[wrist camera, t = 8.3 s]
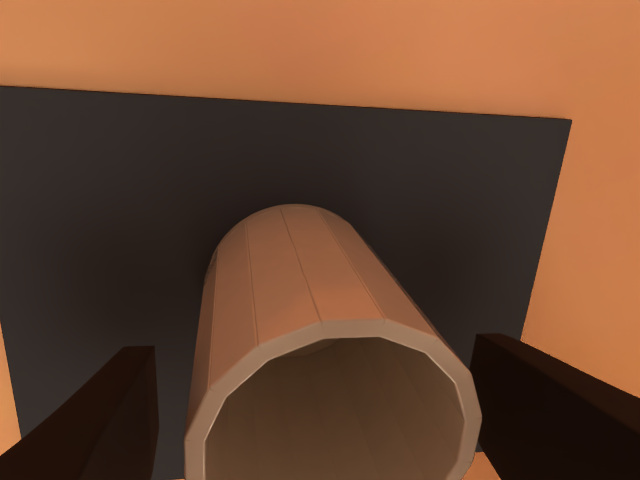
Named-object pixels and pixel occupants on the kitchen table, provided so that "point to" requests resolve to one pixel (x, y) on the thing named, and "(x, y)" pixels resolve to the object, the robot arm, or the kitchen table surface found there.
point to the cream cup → (320, 363)
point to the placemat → (232, 207)
